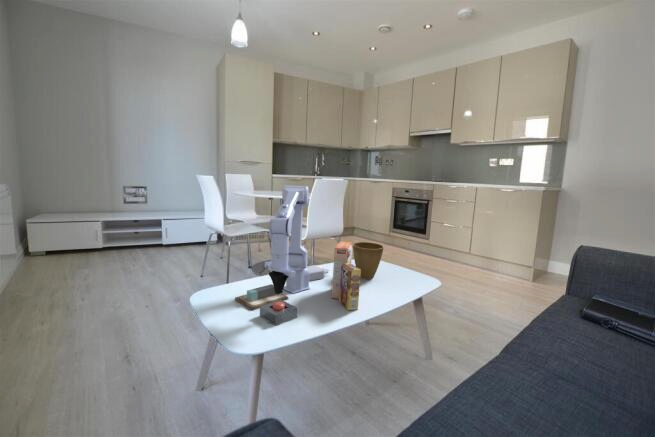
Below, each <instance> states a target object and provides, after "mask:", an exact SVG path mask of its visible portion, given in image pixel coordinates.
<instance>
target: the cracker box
mask: <svg viewBox="0 0 655 437" xmlns="http://www.w3.org/2000/svg"><path fill="white" fill-rule="evenodd" d="M353 244H354V243H353V242H352V241H342V240H340V241H339V242H338V243H337V244H336V246H335V247H334V251H333V269H332V271H333V272H332V285H331V298H332V299H335V300H339V296H340V280H341V265H342V264H345V263H350V264H352V260H353V259H352V258H353V256H352V254H353Z"/></svg>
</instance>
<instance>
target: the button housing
mask: <svg viewBox="0 0 655 437" xmlns="http://www.w3.org/2000/svg"><path fill="white" fill-rule="evenodd" d="M276 302H283V303H284V304H285V309H283V310H280V311H276V310H274V309H273V303H275V302H272V303H269V304H266V305H263V306H260V308H259V317H260V318H262V319H264V320H265V321H267V322H268V323H271V324H272V325H274V326H275V327H276V326H278V325H281V324H283V323H287V322H290V321H291V320H294V319H297V318H298V307H297V306H294V305H292V303H291V304H290V303H288V302H287V301H286V300H284V301H283V300H279V301H276Z"/></svg>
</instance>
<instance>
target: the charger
mask: <svg viewBox="0 0 655 437" xmlns="http://www.w3.org/2000/svg"><path fill="white" fill-rule="evenodd" d="M306 268H307V269H308V271H309V282H311V281H312V282H313V281H318V280H322V279H324V278H325V275H326V274H328V273H329V271H330V269H328V268H325V267H319V266H317V265H307V267H306Z"/></svg>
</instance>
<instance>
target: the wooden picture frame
mask: <svg viewBox="0 0 655 437" xmlns="http://www.w3.org/2000/svg"><path fill="white" fill-rule="evenodd" d="M279 300H283V301H287V300H289V296H287V295H285V294H283V293H280V294H275V295H272V296H268V297H265V298H262V299H258V300H255V301H250V300H248V299H247V293H246V294H243V295H239V296H236V297H234V301H236V302H237V301H238V303H239V304H241V305H242V306H244V307H245V308H248V309H249V310H251V311H254V310H257V309H260V306H263V305H266V304H269V303H272V302H276V301H279Z"/></svg>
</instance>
